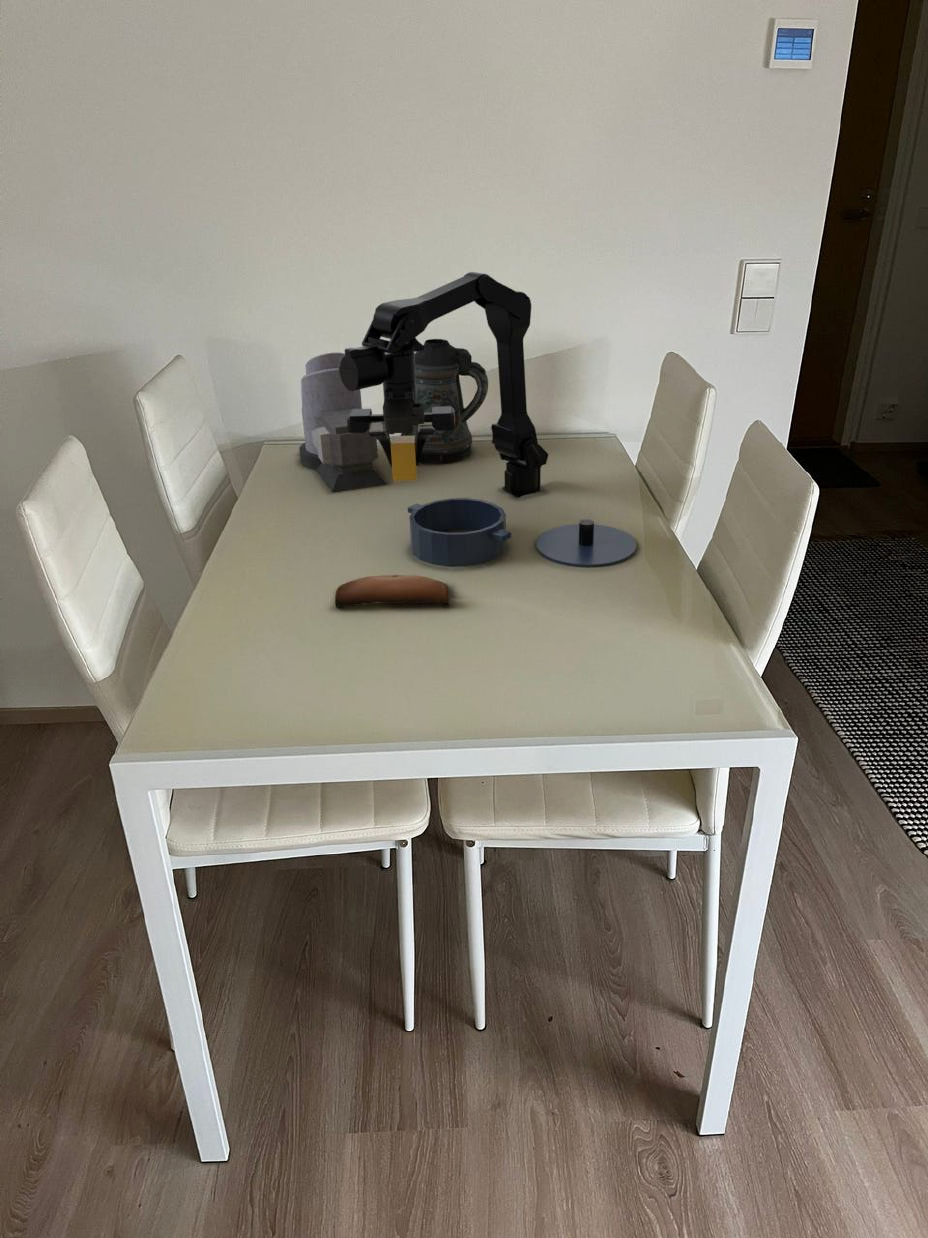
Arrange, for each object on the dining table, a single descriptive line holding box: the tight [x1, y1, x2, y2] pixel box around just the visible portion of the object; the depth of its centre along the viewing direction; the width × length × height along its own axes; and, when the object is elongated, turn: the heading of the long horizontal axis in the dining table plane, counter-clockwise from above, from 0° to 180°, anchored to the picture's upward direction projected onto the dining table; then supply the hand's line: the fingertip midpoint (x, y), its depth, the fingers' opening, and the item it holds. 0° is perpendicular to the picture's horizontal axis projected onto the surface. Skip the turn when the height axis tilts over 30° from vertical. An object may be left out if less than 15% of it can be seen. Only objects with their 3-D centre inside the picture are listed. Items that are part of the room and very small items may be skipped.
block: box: [390, 435, 418, 482], centre depth 173 cm, size 4×4×7 cm
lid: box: [535, 518, 638, 568], centre depth 168 cm, size 18×18×5 cm
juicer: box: [298, 352, 388, 493], centre depth 206 cm, size 30×16×24 cm, turn 20°
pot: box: [407, 497, 512, 568], centre depth 169 cm, size 17×22×6 cm
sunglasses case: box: [334, 574, 451, 608], centre depth 154 cm, size 18×7×7 cm, turn 90°
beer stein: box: [400, 338, 489, 465], centre depth 212 cm, size 16×19×25 cm
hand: (404, 466), depth 173 cm, fingers closed on block, 4 cm apart
